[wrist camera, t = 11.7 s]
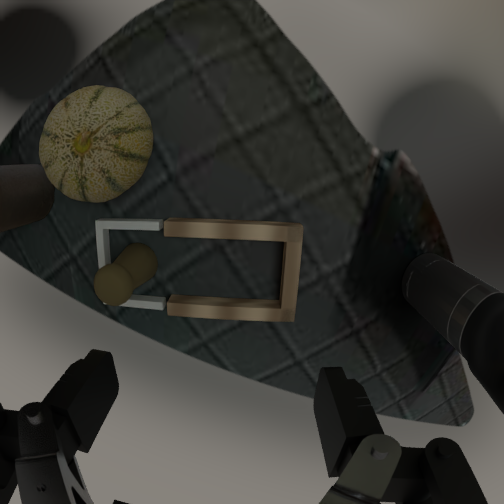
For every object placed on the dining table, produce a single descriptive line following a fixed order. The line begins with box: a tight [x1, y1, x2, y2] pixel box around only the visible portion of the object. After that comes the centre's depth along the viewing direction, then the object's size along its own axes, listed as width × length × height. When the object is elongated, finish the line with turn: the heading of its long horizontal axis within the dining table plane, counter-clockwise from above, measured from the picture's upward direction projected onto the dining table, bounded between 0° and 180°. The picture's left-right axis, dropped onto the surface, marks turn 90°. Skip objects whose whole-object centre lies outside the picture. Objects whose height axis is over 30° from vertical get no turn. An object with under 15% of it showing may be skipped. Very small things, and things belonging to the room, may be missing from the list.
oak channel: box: [164, 218, 303, 322], centre depth 42 cm, size 18×14×3 cm
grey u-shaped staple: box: [95, 218, 166, 310], centre depth 42 cm, size 10×13×2 cm
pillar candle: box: [0, 164, 54, 232], centre depth 33 cm, size 10×10×15 cm
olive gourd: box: [94, 243, 158, 306], centre depth 38 cm, size 6×6×11 cm
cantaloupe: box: [39, 85, 153, 203], centre depth 31 cm, size 15×15×15 cm
